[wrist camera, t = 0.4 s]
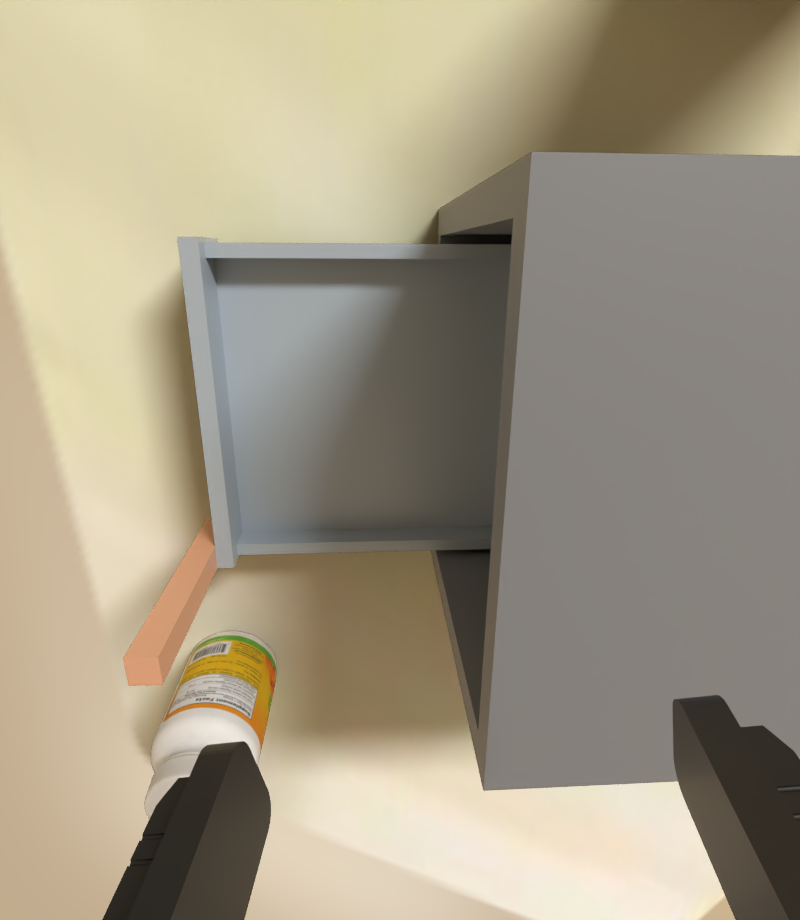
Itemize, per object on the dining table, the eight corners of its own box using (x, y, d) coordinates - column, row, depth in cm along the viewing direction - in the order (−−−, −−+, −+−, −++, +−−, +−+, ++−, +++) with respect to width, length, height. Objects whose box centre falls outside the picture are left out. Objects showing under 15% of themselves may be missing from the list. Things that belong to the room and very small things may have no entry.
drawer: (172, 238, 25) (36, 227, 15) (529, 240, 26) (637, 232, 16) (209, 537, 31) (128, 685, 20) (506, 531, 32) (577, 669, 21)
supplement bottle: (254, 710, 36) (217, 863, 27) (175, 678, 35) (109, 826, 26) (293, 649, 35) (268, 789, 26) (212, 614, 34) (156, 747, 25)
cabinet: (438, 208, 27) (531, 151, 12) (763, 212, 28) (1236, 162, 13) (429, 545, 33) (483, 790, 18) (695, 539, 34) (958, 767, 19)
